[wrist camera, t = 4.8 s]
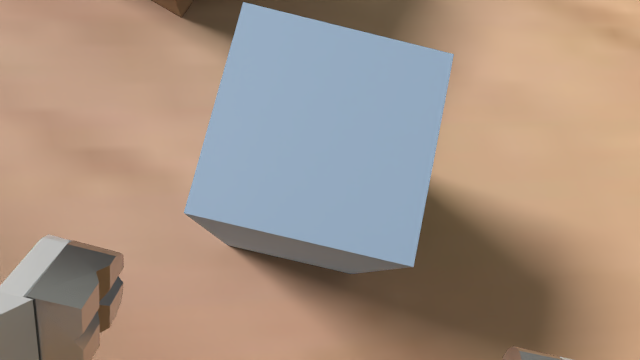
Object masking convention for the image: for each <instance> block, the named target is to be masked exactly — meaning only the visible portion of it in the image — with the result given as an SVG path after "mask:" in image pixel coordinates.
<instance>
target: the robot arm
mask: <svg viewBox="0 0 640 360" xmlns="http://www.w3.org/2000/svg"><path fill="white" fill-rule="evenodd" d="M123 267H124V261H123V254H121V253H119V252H115V251H111V250H108V249H104V248H100V247H96V246H92V245H89V244H85V243H81V242H77V241H72V240H68V239H64V238H60V237H56V236H53V235H49V234H48V235H47V236H45V237H43V238H41V239H40V240H39V241H38V242H37V244H36V245H35V246H34V247H33V248H32V249H31V251H30V252H29V253H28V254H27V255H26V256H25V258H24V259H23V260H22V261H21V262H20V263H19V264H18V266H17V267H16V268H15V269H14V270H13V271H12V273H11V274H10V275H9V276H8V277H7V278H6V280H5V281H4V282H3V283H2V284H1V285H0V360H92V358H93V356H94V354H95V353H96V351H97V349H98V347H99V346H100V333H101V332H102V331H104V330H106V329H108V328H110V326H111V324H112V322H113V320H114V318H115V317H116V314H117V311H118V309H119V306H120V303H121V299H122V294H123V282H122V281H121V279H120V278H119V277H118V276H119V274H120V272H121V271H122V269H123ZM503 360H573V359H568V358H564V357H558V356H555V355H551V354H547V353H542V352H538V351H533V350H529V349H525V348H520V347H516V346H512V347H511V348H509V349H508V350H507V351H506V353H505V354H504V356H503Z"/></svg>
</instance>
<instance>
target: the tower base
mask: <svg viewBox="0 0 640 360" xmlns="http://www.w3.org/2000/svg"><path fill="white" fill-rule="evenodd" d="M152 1H154V2H155V3H157V4H159V5H161V6H162V7H164V8H166V9H167V10H169V11H171V12H173V13H174V14H176V15H178V16H180V17H182V16H183V15H184V13H185V12H186V10H187V9H188V8H189V6H190V5H191V3H192V2H193V0H152Z"/></svg>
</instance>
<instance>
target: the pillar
mask: <svg viewBox="0 0 640 360" xmlns="http://www.w3.org/2000/svg"><path fill="white" fill-rule="evenodd" d="M453 56H454V54H451V53H447V52H443V51H439V50H435V49H431V48H427V47H423V46H419V45H415V44H411V43H407V42H403V41H399V40H395V39H391V38H387V37H383V36H378V35H374V34H370V33H366V32H362V31H358V30H354V29H350V28H346V27H342V26H338V25H334V24H330V23H326V22H322V21H318V20H314V19H310V18H306V17H302V16H298V15H294V14H290V13H286V12H282V11H278V10H274V9H270V8H266V7H262V6H258V5H254V4H250V3H245V2H243V4H242V8H241V12H240V15H239V19H238V22H237V26H236V29H235V33H234V36H233V40H232V44H231V47H230V51H229V54H228V58H227V61H226V65H225V68H224V72H223V76H222V79H221V83H220V86H219V90H218V93H217V97H216V101H215V104H214V108H213V111H212V115H211V118H210V122H209V125H208V129H207V133H206V136H205V140H204V143H203V147H202V150H201V154H200V157H199V161H198V165H197V168H196V172H195V175H194V179H193V182H192V186H191V190H190V193H189V197H188V200H187V204H186V207H185V211H184V213H185V214H186V215H187V216H189V217H190V218H191V219H193V220H194V221H195V222H197V223H198V224H199V225H201V226H202V227H204V228H205V229H206V230H208V231H209V232H210V233H212V234H213V235H214V236H216V237H217V238H218V239H220V240H221V241H223V242H224V243H225V244H227V245H229V246H233V247H237V248H242V249H246V250H250V251H255V252H259V253H263V254H267V255H272V256H276V257H280V258H285V259H289V260H293V261H297V262H302V263H306V264H310V265H315V266H319V267H323V268H327V269H332V270H336V271H340V272H345V273H349V274H356V273H365V272H373V271H382V270H391V269H400V268H408V267H414V262H415V256H416V251H417V246H418V241H419V235H420V230H421V225H422V219H423V214H424V209H425V204H426V198H427V193H428V188H429V182H430V177H431V172H432V167H433V161H434V156H435V151H436V145H437V140H438V135H439V130H440V124H441V119H442V114H443V108H444V103H445V98H446V93H447V87H448V82H449V77H450V71H451V66H452V61H453Z"/></svg>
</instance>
